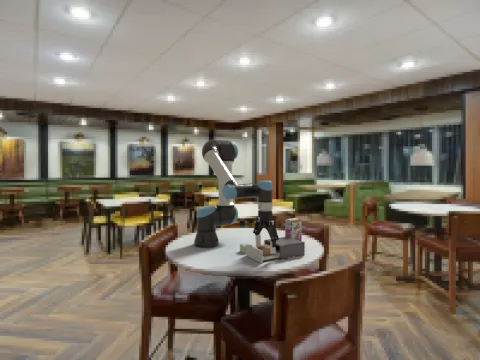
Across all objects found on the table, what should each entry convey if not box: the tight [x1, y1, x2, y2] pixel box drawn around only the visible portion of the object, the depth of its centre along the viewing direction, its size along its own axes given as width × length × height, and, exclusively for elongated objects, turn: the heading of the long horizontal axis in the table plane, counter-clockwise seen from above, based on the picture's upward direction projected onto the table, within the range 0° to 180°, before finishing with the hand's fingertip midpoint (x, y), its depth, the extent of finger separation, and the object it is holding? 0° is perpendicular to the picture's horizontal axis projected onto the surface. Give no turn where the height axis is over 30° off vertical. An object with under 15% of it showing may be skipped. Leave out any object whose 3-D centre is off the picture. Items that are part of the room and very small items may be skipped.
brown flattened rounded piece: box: [257, 244, 273, 256], centre depth 154 cm, size 8×8×4 cm
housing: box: [263, 236, 306, 261], centre depth 160 cm, size 16×15×7 cm
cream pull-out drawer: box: [245, 243, 280, 264], centre depth 154 cm, size 16×15×6 cm
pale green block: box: [239, 242, 253, 254], centre depth 164 cm, size 5×5×4 cm
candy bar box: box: [284, 217, 303, 241], centre depth 176 cm, size 11×5×16 cm, turn 135°
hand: (265, 250), depth 154 cm, fingers open, 13 cm apart
